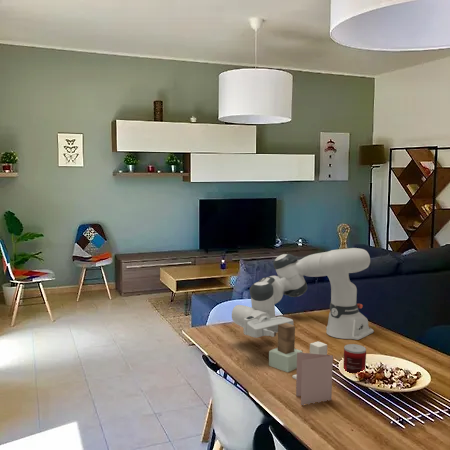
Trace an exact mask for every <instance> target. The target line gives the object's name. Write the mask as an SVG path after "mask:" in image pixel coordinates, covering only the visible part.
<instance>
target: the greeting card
mask: <svg viewBox="0 0 450 450" xmlns="http://www.w3.org/2000/svg"><path fill="white" fill-rule="evenodd" d="M333 356H334V355H331V354H327V355H322V354H311V353H310V352H303V353H299V352H297V368H296V374H297V378H296V379H295V380H296V385H295V386H296V387H295V397H300V396H301V397H300V406H301V405H303V406H305V405H304V404H308V405H311V404H310V403H313V404H316V403H315V402H318V403H322V402H321V401H323V402H328V401H332V391H333V367H334V366H333V363H334V362H333V360H334V359H333V358H334V357H333ZM327 400H328V401H327Z"/></svg>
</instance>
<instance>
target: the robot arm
mask: <svg viewBox="0 0 450 450" xmlns="http://www.w3.org/2000/svg"><path fill="white" fill-rule="evenodd" d="M272 264H273V268H274V269H275V272H276V274H277V275H270V276H267V277H262V278H261V279H259V281H257V282H254V283H252V285H251V286H250V287H249V296H250V300H251V302H250V303H251V306H247V305H242V304H237V305H234V307H233V309H232V310H231V318H232V321H233V323H234V324H236V325H238V326H240V327H242V328H243V334H244V335H245V336H249V337H252V338H261V337H265V336H267V337H272V338H273V337H276V336H277V334H278V325H280V324H284V323H289V324H291V325H294V319H292V318H289V317H285V316H276V307H275V304H277V303H280V302H281V300H282V298H283V297H284V295H285V296H288V297H290V298H292V297H293V298H297V297H300V296H302V295H304V294H305V293H306V292H307V290H308V284H307V282H306V280H305V278H304V276H306V277H312V278H313V277H315V278H317V277H326V276H327V278H328V280H329V283H330V289H331V290H330V298H331V299H330V303H329V314H328V320H327V326H326V328H325V329H326V332H325V333H326V334H327V335H328V336H330V337H332V338H337V339H345V340H361V339H363V338H366V337H367V336H369V335H371V334H373V333H374V332H375V331H374V329H373V328H371V327H369V320H368V318H367V317H366V316H365V315H364V314H363V313H361V312H360V311H359V309H362V308H363V304H362V303H357V294H358V289H357V286H356V285H355V284H354V283H353V282H351V280H350V276H349V275H350V274H354V273H355V274H356V273H359V272H362V271H365V270H366V269H368V268H369V266H370V264H371V257H370V254H369V252H368V251H367V250H366V249H365V248H359V247H358V248H357V247H350V248H349V247H348V248H341V249H340V248H339V249H331V250H328V251H325V252H324V251H323V252H317V253H312V254H309V255H306V256H304V257H303V258H301V259H299V257H298V256H296V255H293V254H290V253H283V254H280V255H278V256H277V257H276V258H275V259H274V260H273V262H272Z"/></svg>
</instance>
